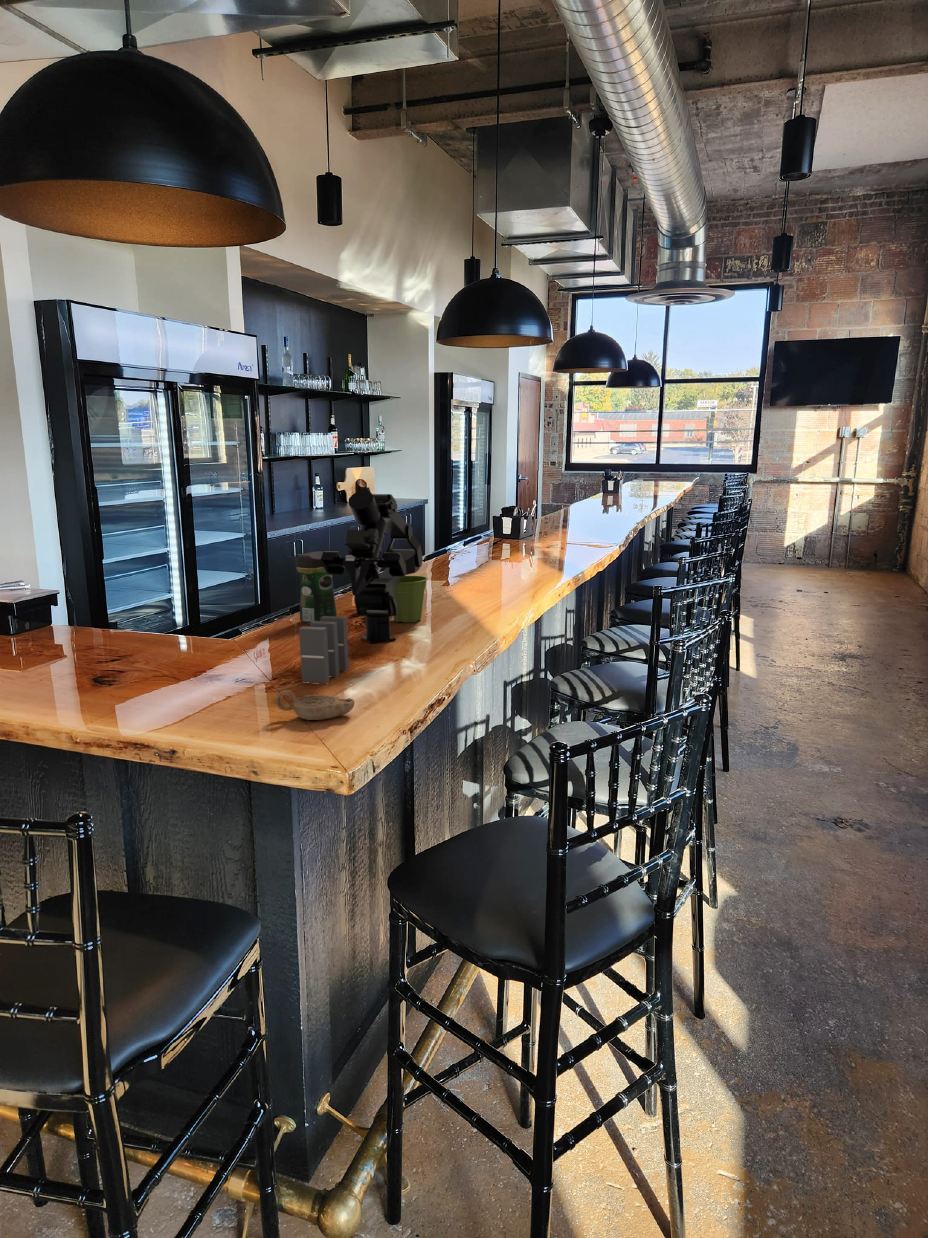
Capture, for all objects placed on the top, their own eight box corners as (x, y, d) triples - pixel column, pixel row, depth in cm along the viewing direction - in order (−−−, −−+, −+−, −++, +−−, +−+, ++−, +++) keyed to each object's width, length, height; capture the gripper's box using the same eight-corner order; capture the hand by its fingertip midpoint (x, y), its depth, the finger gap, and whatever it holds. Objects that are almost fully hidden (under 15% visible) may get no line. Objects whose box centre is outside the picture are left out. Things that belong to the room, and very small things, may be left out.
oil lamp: (357, 710, 138) (355, 682, 137) (352, 724, 130) (350, 695, 129) (282, 711, 137) (280, 684, 136) (272, 726, 130) (270, 697, 129)
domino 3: (326, 667, 165) (323, 616, 163) (348, 668, 164) (346, 616, 161) (323, 669, 163) (320, 617, 161) (345, 670, 162) (343, 618, 160)
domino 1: (306, 680, 155) (303, 626, 153) (329, 682, 154) (326, 627, 152) (302, 683, 154) (298, 628, 151) (326, 684, 152) (323, 629, 150)
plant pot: (410, 613, 218) (409, 573, 215) (438, 620, 209) (437, 578, 207) (375, 620, 210) (374, 578, 208) (403, 627, 201) (402, 583, 199)
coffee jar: (320, 616, 216) (317, 549, 213) (341, 619, 212) (338, 550, 208) (294, 622, 209) (290, 553, 205) (315, 626, 204) (311, 554, 200)
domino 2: (316, 673, 160) (313, 621, 158) (339, 675, 159) (336, 622, 157) (312, 676, 158) (309, 623, 156) (336, 677, 157) (333, 623, 155)
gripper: (320, 515, 176) (302, 571, 168) (400, 515, 171) (385, 573, 163) (336, 546, 185) (319, 601, 177) (412, 547, 181) (398, 603, 172)
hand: (354, 594), depth 172 cm, fingers closed
